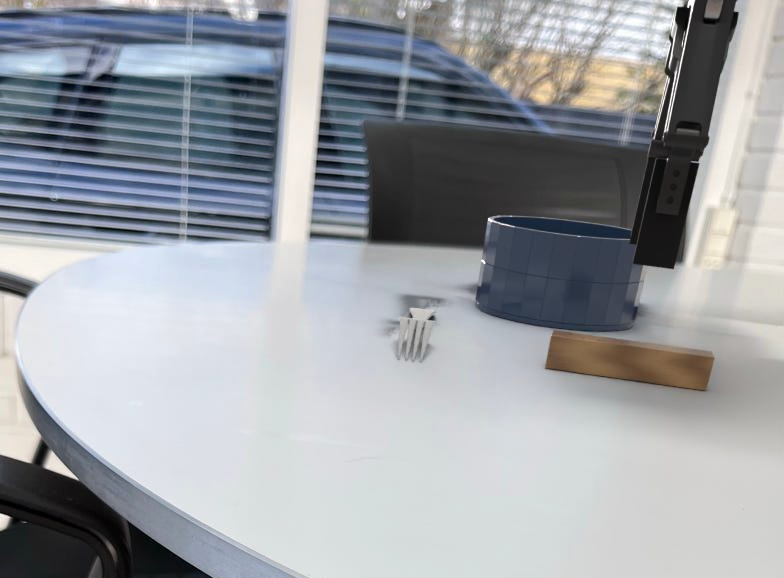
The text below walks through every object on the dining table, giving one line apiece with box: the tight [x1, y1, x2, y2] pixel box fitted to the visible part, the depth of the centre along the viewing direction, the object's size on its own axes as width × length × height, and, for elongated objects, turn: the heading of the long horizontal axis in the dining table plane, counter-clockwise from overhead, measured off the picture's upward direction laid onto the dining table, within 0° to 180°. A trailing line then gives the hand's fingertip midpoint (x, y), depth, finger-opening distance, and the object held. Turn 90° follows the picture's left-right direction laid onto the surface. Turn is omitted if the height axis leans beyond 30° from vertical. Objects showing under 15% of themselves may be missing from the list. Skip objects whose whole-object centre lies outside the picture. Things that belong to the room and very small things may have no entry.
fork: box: [397, 307, 437, 363], centre depth 89 cm, size 3×21×3 cm, turn 171°
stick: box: [544, 329, 716, 391], centre depth 81 cm, size 12×2×2 cm, turn 75°
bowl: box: [474, 215, 648, 332], centre depth 102 cm, size 15×15×8 cm
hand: (649, 255), depth 77 cm, fingers open, 13 cm apart
